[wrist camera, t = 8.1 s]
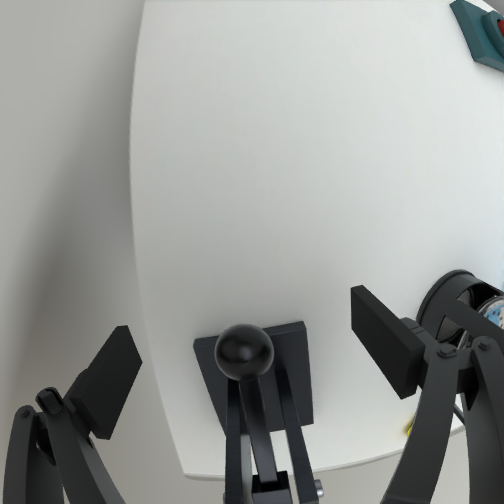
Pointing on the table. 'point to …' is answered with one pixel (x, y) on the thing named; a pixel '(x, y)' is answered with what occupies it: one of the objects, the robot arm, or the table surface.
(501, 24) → the stop button
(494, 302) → the french press
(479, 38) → the button box
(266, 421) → the switch lever
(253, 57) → the table surface
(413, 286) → the table surface
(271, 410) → the ball knob lever stand
